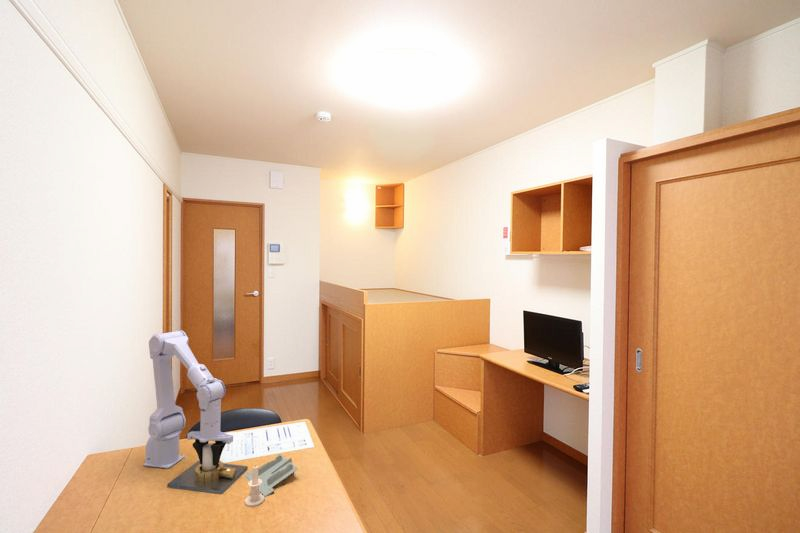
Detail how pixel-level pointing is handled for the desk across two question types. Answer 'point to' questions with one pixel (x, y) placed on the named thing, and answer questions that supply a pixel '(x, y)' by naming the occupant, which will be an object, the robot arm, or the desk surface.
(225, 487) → the fitting plate
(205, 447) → the white rounded block
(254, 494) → the beige turned upright piece
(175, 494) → the desk surface
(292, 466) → the metal bracket
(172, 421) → the robot arm
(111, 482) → the desk surface
